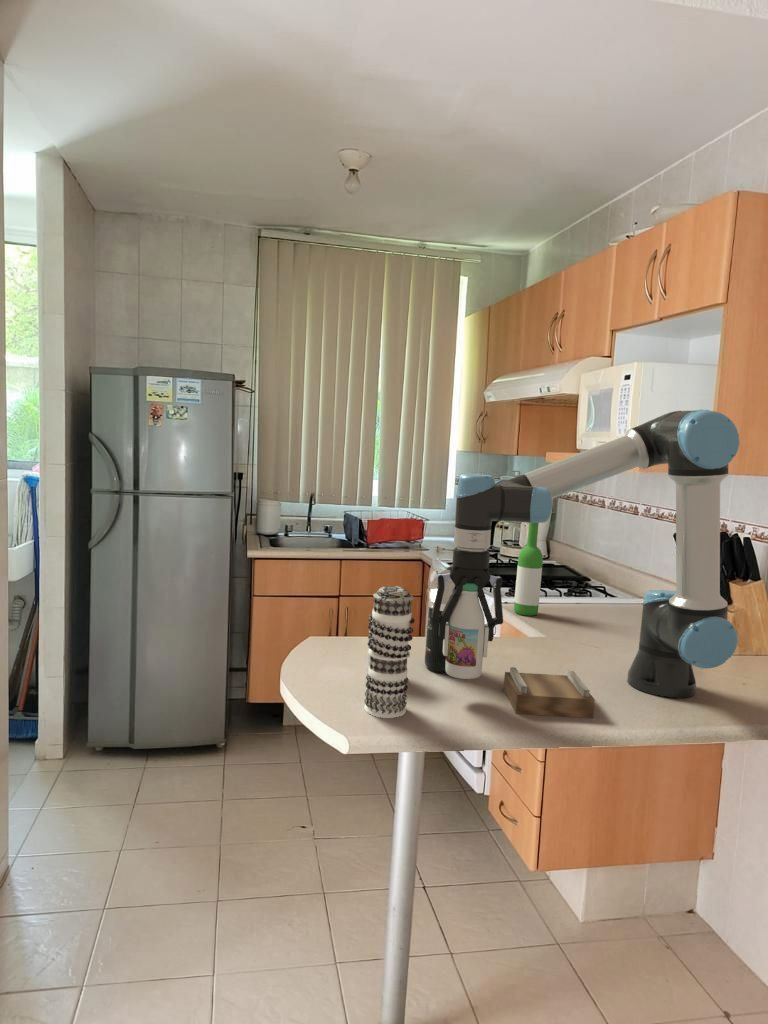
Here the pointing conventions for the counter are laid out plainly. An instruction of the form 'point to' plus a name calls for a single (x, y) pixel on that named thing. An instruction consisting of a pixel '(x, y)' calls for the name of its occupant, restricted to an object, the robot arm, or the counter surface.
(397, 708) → the decorative candle
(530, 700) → the display riser
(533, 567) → the wine bottle
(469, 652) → the milk bottle
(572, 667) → the counter surface
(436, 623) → the black water bottle
